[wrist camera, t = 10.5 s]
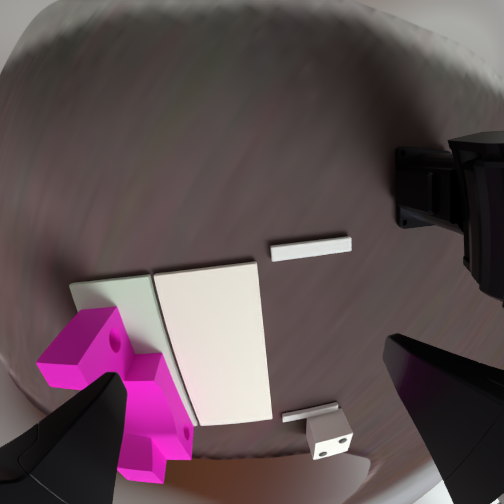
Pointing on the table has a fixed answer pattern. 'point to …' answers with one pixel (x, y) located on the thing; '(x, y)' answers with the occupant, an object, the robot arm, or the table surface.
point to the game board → (207, 331)
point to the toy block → (136, 382)
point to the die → (328, 434)
